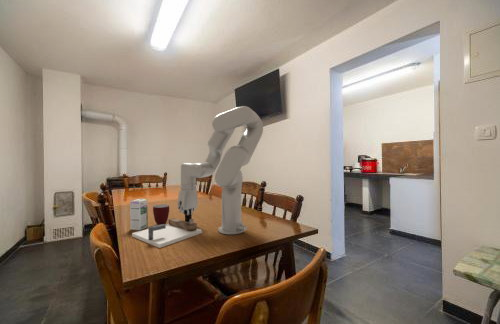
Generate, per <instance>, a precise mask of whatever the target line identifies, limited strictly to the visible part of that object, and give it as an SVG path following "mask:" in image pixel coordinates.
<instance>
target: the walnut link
mask: <svg viewBox="0 0 500 324" xmlns="http://www.w3.org/2000/svg"><path fill="white" fill-rule="evenodd" d="M168 223H169V224H170V225H173V226H177V227H180V228H183V229H186V230H187V231H194V230H196V229H198V226H197V223H196V222H194V219H193V218H192V219H190V220H189V222H186V221H185V220H182V219H178V218H170V219H169V218H168Z"/></svg>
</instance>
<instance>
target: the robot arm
mask: <svg viewBox="0 0 500 324" xmlns="http://www.w3.org/2000/svg"><path fill="white" fill-rule="evenodd" d="M211 123H212V124H211V126H212V128H213V130H214V131H213V133H212V134H211V135H210V138H209V140H208V141H207V146H208V149H209V153H208V156H207V157H206V159H205V161H204V162H195V163H194V162H183V163H181V165H180V189H179V191H178V196H177V209H178V210H179V213H180V214H181V213H183V215H184V221H186V222H189V220H190V219H193V218H192V215H193V212H194V211H195V210H197V206H198V191H197V179H201V178H206V177H207V178H208V177H211V175H213V174H214V173H215V175H214V181H215V183H216V185H217V186H218V187H220V188H222V190H221V226H219V227H218V232H219V233H220V234H223V235H239V234H242V233H243V232H246V230H247V228H248V226H247V225H244V221H242V191H243V190H242V188H243V180H244V178H243V177H244V176H243V173H242V170H241V169H242V167H244V166H246V165H248V164H249V163H250V161H251V159H252V157H253V155H254V153H255V151H256V149H257V146H258V144H259V142H260V140H261V138H262V135H263V132H264V123H263V121H262V120H261V117H260V116H259V115H258V114H257V113H256V111H254V110H253V109H252V108H250V107H249V106H246V105H241V106H237V107H235V108H232V109H230V110H227V111H224V112H221V113H219V114H217V115H216V116H214V118H213V119H212V122H211ZM240 127H244V128H245V131H244V132H243V134H242V135H241V137H240V139H239V141H238V143H237V144H236V145H233V146H231V147H229V148H228V149H227V150H226V152H225V153H224V155H223V152H224V149H225V147H226V145H227V144H228V142H229V140H230V139H231V137H232V135H233V134H234V132H235V131H236V128H240Z"/></svg>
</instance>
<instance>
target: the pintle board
mask: <svg viewBox="0 0 500 324" xmlns="http://www.w3.org/2000/svg"><path fill="white" fill-rule="evenodd" d="M165 225H166V228H165V229H160V230H155V231H153V240H148V228H146V229H142V230H137V231H135V232H132V233H131V237H132V238H134V239H137V240H140V241H142V242H144V243H147V244H149V245H151V246H154V247H156V248H158V249H161V248H163V247H167V246H169V245H172V244H175V243H178V242H180V241H184V240H187V239H189V238H191V237H195V236H198V235H200V234H202V233H203V229H201V228H197V229H196V230H194V231H187V230H186V229H183V228H180V227H177V226H173V225H170V224H169V222H168V223H166V224H165Z"/></svg>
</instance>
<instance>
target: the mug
mask: <svg viewBox="0 0 500 324" xmlns="http://www.w3.org/2000/svg"><path fill="white" fill-rule="evenodd" d="M152 214H153V218H154V222H155V224H156V225H161V224H167V222H168V221H169V214H170V205H169V204H164V203H163V204H156V205H153V207H152Z"/></svg>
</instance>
